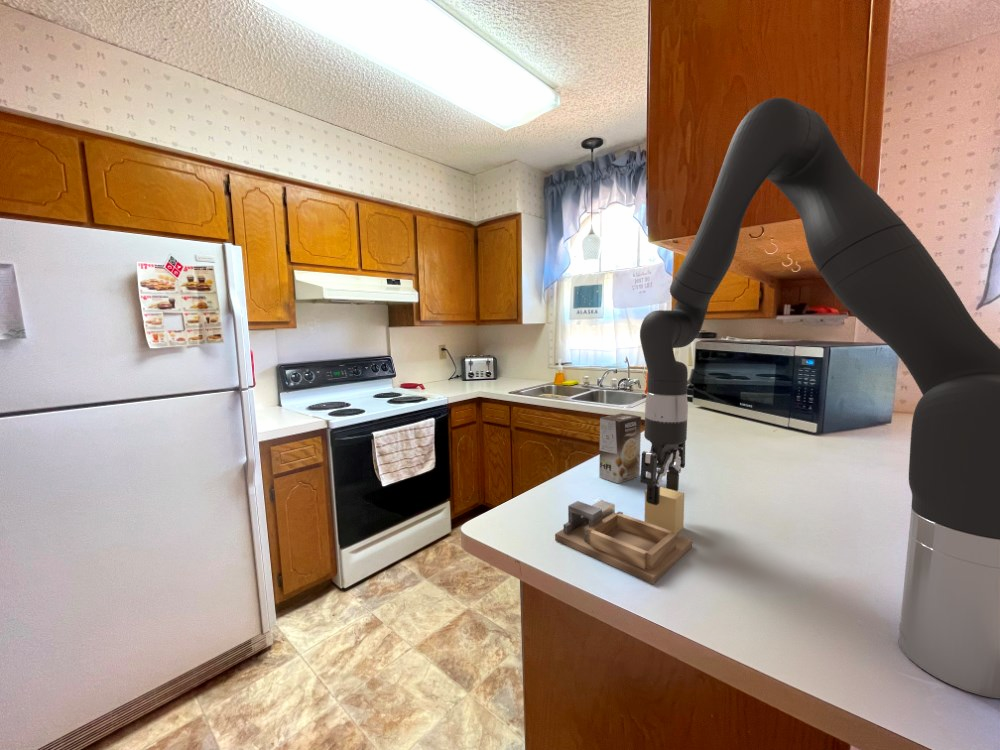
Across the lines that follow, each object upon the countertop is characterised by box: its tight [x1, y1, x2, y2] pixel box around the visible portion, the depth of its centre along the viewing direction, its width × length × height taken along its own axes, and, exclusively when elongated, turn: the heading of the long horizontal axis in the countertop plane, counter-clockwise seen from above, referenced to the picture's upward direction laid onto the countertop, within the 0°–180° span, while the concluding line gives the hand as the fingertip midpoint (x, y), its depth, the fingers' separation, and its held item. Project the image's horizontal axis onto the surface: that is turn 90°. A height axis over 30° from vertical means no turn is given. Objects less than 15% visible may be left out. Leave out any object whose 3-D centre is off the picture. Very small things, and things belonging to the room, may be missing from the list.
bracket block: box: [644, 486, 685, 534], centre depth 80 cm, size 6×4×7 cm, turn 44°
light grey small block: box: [587, 499, 616, 523], centre depth 80 cm, size 3×5×3 cm, turn 134°
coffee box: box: [598, 412, 642, 484], centre depth 106 cm, size 9×6×16 cm
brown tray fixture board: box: [554, 500, 694, 585], centre depth 73 cm, size 19×15×6 cm
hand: (662, 496), depth 79 cm, fingers open, 8 cm apart
